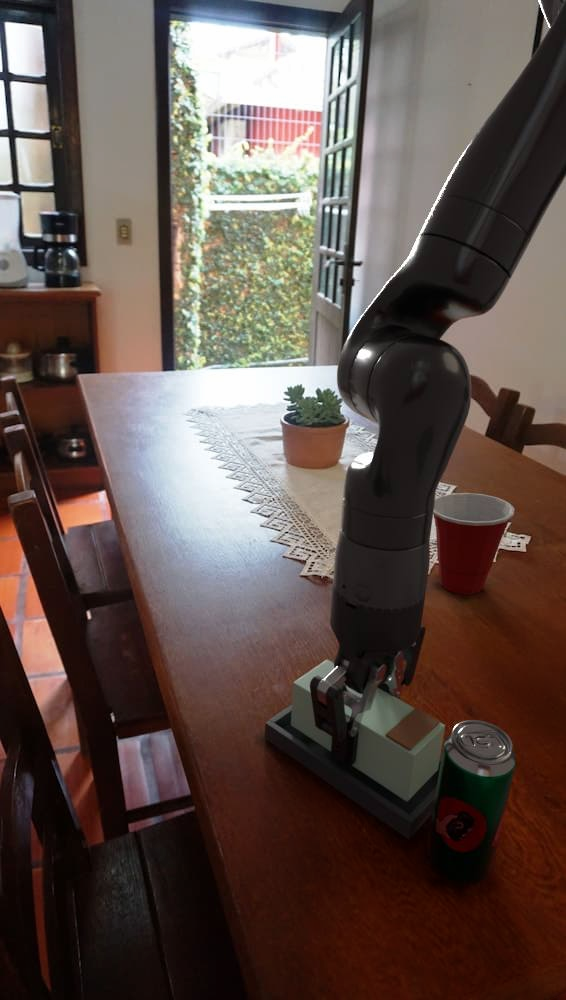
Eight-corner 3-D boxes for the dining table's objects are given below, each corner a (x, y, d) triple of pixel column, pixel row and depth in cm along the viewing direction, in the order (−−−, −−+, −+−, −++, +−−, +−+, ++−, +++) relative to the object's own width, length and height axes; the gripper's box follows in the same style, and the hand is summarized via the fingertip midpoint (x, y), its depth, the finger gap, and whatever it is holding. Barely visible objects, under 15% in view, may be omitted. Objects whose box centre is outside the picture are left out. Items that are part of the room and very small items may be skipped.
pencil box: (290, 725, 64) (292, 680, 62) (323, 700, 68) (327, 656, 66) (407, 802, 57) (414, 753, 54) (438, 769, 60) (446, 722, 58)
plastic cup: (434, 558, 101) (445, 482, 96) (508, 579, 96) (523, 500, 91) (407, 588, 92) (418, 507, 88) (487, 613, 87) (502, 528, 83)
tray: (319, 698, 71) (320, 683, 70) (459, 784, 61) (462, 768, 60) (264, 738, 65) (265, 722, 64) (408, 840, 55) (411, 822, 54)
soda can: (501, 887, 51) (530, 765, 47) (435, 890, 51) (458, 767, 46) (478, 831, 56) (503, 715, 51) (418, 833, 56) (437, 716, 51)
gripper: (391, 539, 63) (374, 689, 69) (286, 595, 53) (278, 764, 59) (464, 567, 58) (439, 725, 65) (364, 635, 48) (346, 813, 55)
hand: (362, 743), depth 62 cm, fingers closed on pencil box, 5 cm apart
